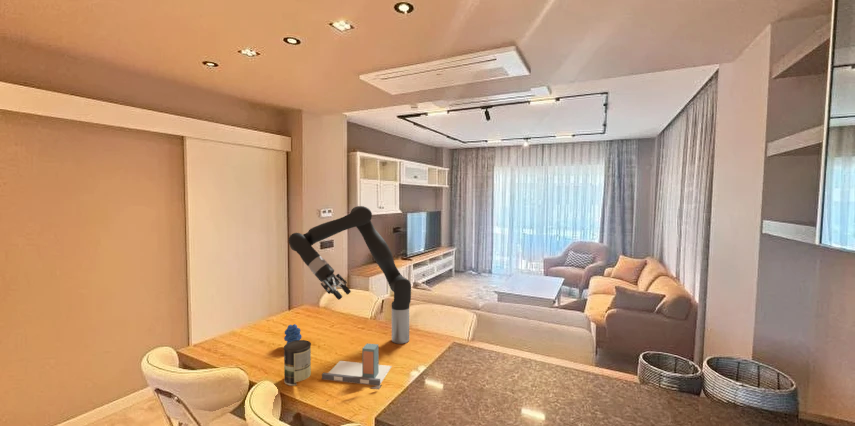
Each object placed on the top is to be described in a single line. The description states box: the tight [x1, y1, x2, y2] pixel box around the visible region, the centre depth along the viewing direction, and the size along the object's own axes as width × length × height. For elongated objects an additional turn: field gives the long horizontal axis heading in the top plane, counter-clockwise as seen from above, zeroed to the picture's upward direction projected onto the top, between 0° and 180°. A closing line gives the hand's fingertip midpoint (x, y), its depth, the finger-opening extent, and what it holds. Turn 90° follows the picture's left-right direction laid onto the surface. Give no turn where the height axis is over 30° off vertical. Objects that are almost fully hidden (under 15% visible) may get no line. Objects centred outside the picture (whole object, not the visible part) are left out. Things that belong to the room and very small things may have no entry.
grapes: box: [283, 323, 302, 344], centre depth 169 cm, size 12×7×12 cm, turn 59°
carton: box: [361, 343, 380, 378], centre depth 139 cm, size 5×5×12 cm
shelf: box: [321, 360, 393, 390], centre depth 141 cm, size 16×24×4 cm
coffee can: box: [283, 339, 312, 387], centre depth 138 cm, size 10×10×14 cm
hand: (345, 295), depth 151 cm, fingers open, 8 cm apart
